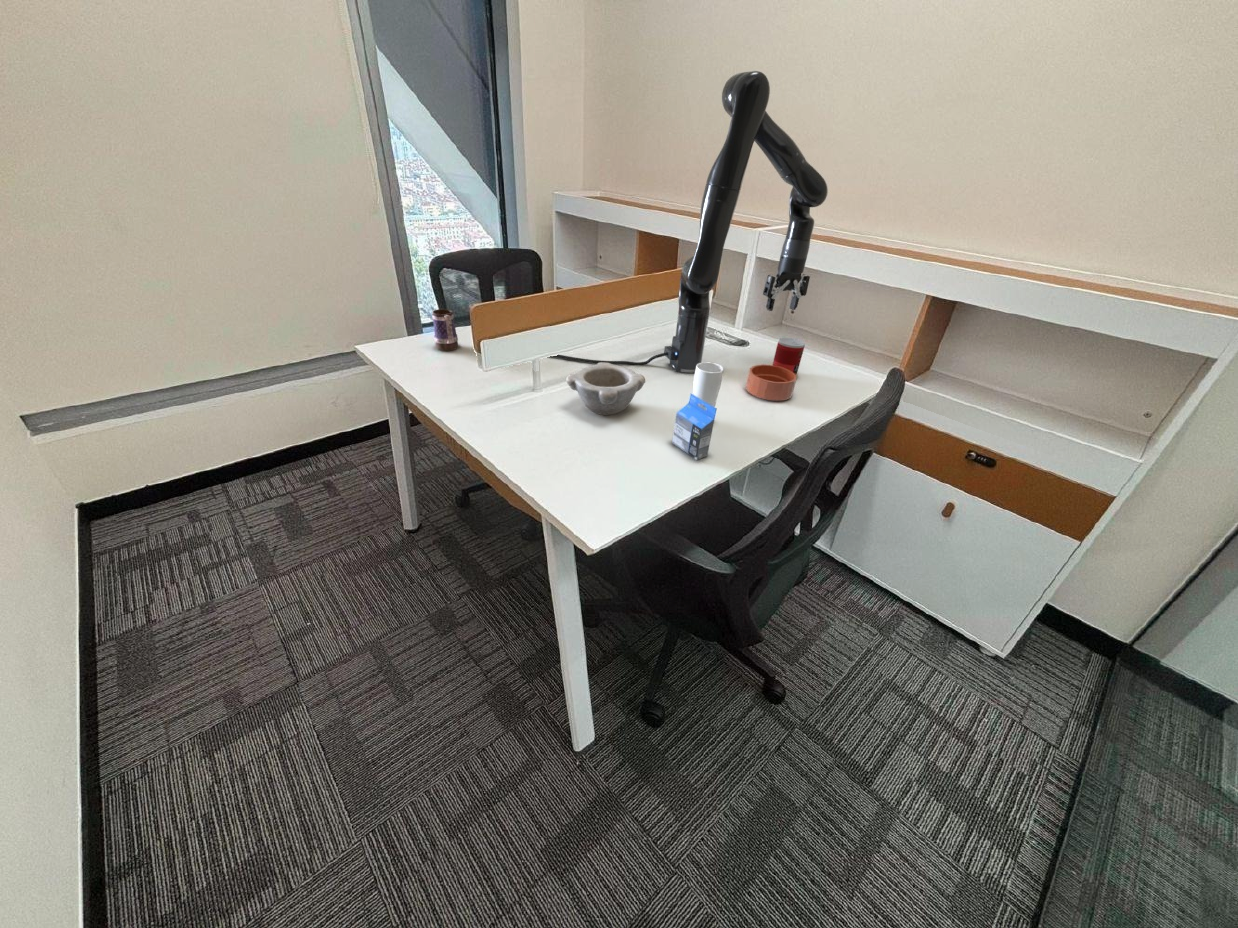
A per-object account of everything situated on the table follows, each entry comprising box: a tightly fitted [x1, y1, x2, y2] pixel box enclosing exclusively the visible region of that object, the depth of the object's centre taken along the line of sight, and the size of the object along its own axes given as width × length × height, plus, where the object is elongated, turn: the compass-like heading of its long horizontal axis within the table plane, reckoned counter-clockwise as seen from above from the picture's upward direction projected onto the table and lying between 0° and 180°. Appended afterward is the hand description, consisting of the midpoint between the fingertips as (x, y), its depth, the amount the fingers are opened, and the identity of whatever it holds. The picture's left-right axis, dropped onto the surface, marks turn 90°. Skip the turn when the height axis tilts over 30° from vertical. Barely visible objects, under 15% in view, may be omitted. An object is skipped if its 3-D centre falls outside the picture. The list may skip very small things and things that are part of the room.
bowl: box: [745, 363, 798, 402], centre depth 145 cm, size 13×13×6 cm
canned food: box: [772, 337, 806, 376], centre depth 156 cm, size 8×8×11 cm
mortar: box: [565, 362, 646, 416], centre depth 130 cm, size 17×17×9 cm
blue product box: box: [671, 393, 718, 461], centre depth 113 cm, size 9×4×12 cm, turn 35°
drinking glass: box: [692, 361, 724, 410], centre depth 124 cm, size 7×7×15 cm
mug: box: [431, 308, 459, 352], centre depth 156 cm, size 10×7×12 cm
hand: (780, 309), depth 156 cm, fingers open, 8 cm apart
